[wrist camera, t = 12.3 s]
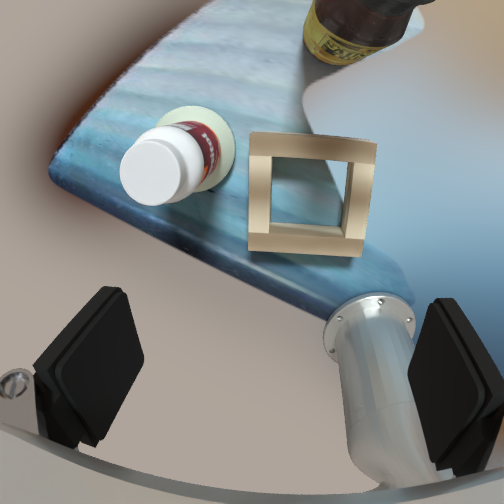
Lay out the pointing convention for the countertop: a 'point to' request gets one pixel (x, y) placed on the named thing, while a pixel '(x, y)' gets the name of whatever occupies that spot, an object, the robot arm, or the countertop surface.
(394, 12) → the sauce bottle
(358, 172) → the wooden square frame
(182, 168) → the pill bottle
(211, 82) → the countertop surface
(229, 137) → the saucer
